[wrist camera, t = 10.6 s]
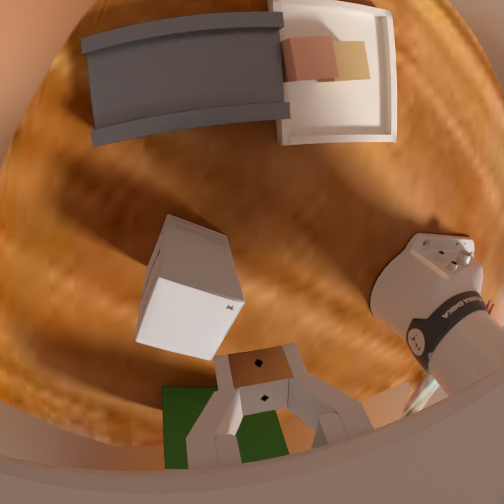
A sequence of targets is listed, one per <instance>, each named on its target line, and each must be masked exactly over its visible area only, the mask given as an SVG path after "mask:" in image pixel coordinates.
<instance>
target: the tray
mask: <svg viewBox="0 0 504 504" xmlns="http://www.w3.org/2000/svg"><path fill="white" fill-rule="evenodd" d="M267 6H268V12H283V19H284V27H283V28H282V29H280V30H279V32H280V42H281V41H284V40H286V39H288V38H293V37H316V36H332V40H333V41H364V44H365V49H366V54H367V60H368V66H369V72H370V79H365V80H349V81H337V82H318V81H317V79H314V80H303V81H294V82H285V83H283V87H284V102H290V119H279V120H276V128H277V143H279V144H281V145H283V146H284V145H298V144H315V143H338V142H396V139H397V76H396V56H395V41H394V30H393V20H392V11H388V10H384V9H380V8H375V7H370V6H366V5H360V4H355V3H349V2H343V1H337V0H267Z"/></svg>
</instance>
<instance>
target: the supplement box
mask: <svg viewBox="0 0 504 504" xmlns="http://www.w3.org/2000/svg"><path fill="white" fill-rule="evenodd" d="M244 303H245V300H244V296H243V293H242V289H241V286H240V282H239V278H238V275H237V271H236V268H235V264H234V261H233V257H232V254H231V250H230V246H229V243H228V239H227V236H226V235H224V234H221V233H219V232H216V231H213V230H211V229H208V228H205V227H203V226H200V225H197V224H195V223H192V222H189V221H187V220H184V219H181V218H178V217H176V216H173V215H170V214H167V216H166V219H165V222H164V225H163V228H162V230H161V233H160V236H159V238H158V241H157V243H156V246H155V248H154V251H153V254H152V256H151V259H150V261H149V263H148V266H147V270H146V275H145V280H144V285H143V291H142V297H141V303H140V309H139V317H138V324H137V331H136V338H135V341H136V342H139V343H142V344H146V345H149V346H153V347H157V348H160V349H164V350H168V351H172V352H176V353H180V354H185V355H189V356H193V357H197V358H201V359H205V360H211V359H212V358H213V356H214V354H215V353H216V351H217V349H218V348H219V346H220V344H221V342H222V341H223V339H224V337H225V336H226V334H227V333H228V331H229V329H230V327H231V325H232V324H233V322H234V320H235V318H236V317H237V315H238V313H239V312H240V310H241V308H242V307H243V305H244Z"/></svg>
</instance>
